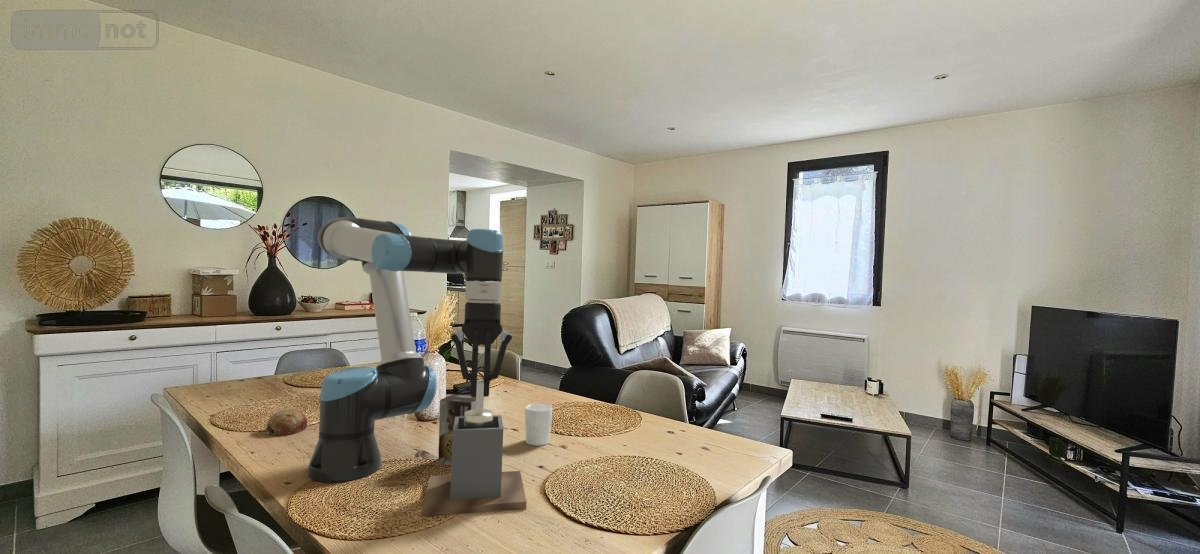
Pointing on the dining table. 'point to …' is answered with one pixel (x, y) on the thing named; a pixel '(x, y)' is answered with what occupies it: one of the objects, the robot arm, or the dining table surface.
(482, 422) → the plunger
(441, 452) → the coffee box
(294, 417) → the brown rounded lump
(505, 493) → the base
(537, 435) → the white cup
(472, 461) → the box
